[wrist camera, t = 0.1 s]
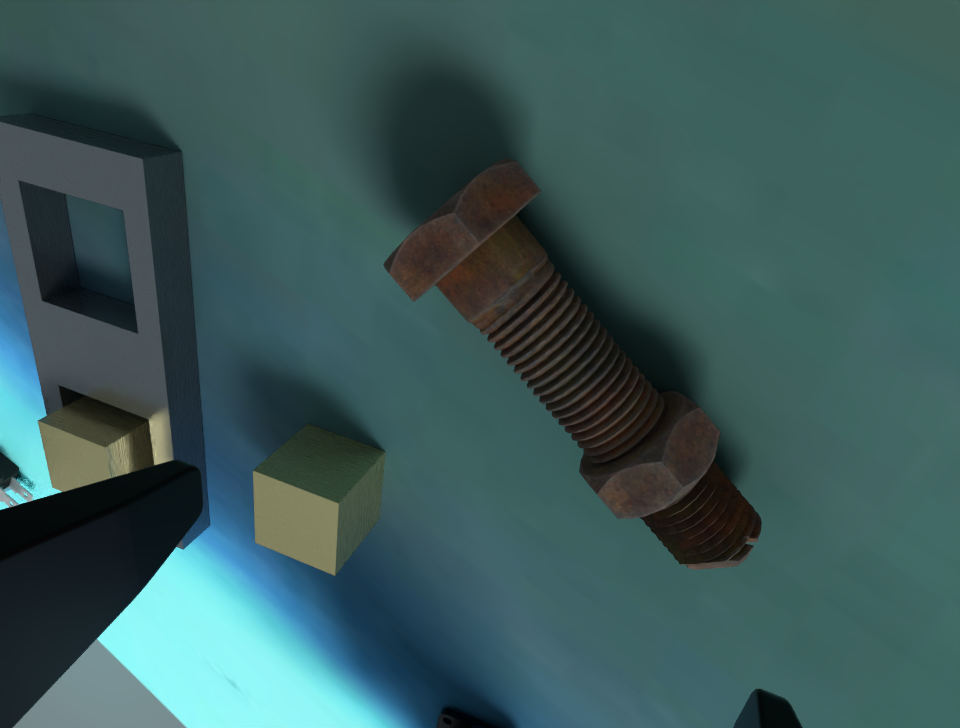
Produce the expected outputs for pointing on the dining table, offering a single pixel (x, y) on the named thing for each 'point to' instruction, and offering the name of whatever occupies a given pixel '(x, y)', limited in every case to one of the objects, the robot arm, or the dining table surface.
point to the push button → (10, 482)
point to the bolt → (579, 371)
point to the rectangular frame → (94, 317)
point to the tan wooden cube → (94, 443)
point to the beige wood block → (318, 497)
